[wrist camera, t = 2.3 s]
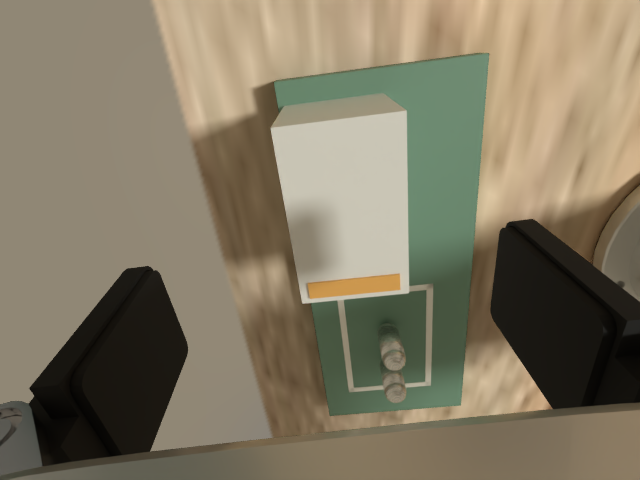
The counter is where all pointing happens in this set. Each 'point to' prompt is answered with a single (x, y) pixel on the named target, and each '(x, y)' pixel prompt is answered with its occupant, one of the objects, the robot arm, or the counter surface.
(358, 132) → the plug cap
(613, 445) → the robot arm
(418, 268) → the header board
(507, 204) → the counter surface
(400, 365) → the grey peg pair
